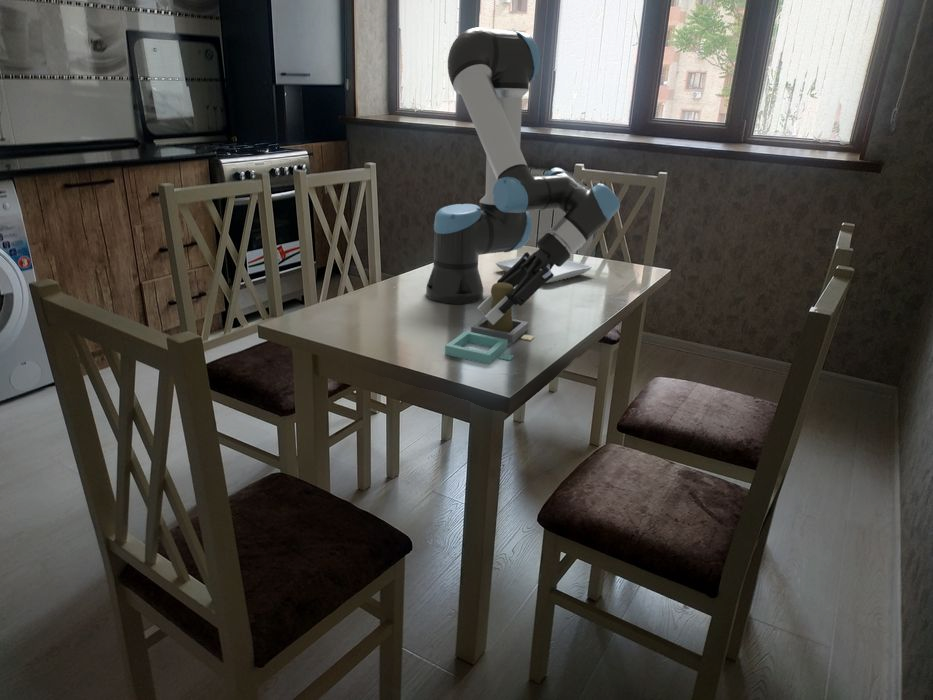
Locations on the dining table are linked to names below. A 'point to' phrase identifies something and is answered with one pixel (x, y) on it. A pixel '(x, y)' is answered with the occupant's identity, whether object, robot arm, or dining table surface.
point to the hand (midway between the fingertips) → (485, 316)
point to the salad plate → (560, 273)
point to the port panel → (487, 341)
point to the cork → (498, 294)
